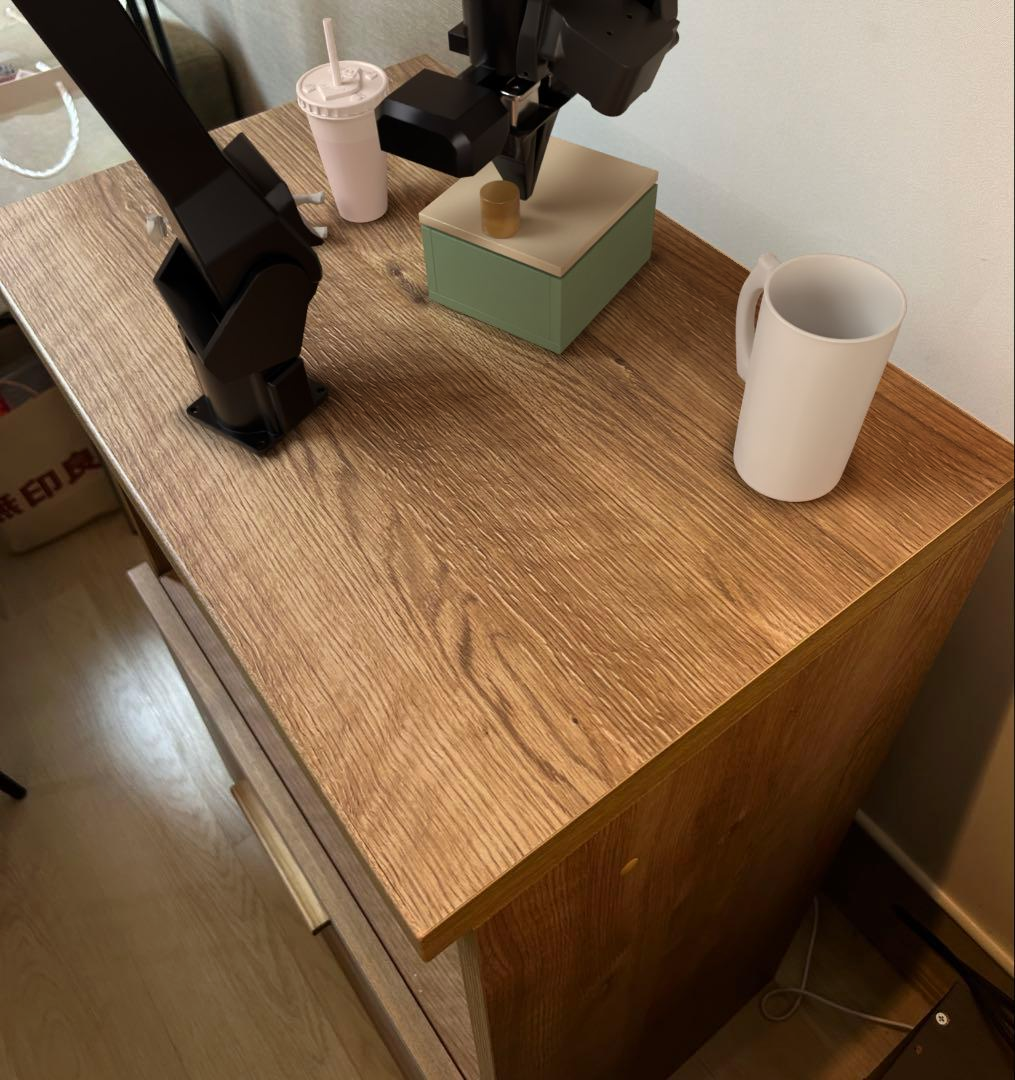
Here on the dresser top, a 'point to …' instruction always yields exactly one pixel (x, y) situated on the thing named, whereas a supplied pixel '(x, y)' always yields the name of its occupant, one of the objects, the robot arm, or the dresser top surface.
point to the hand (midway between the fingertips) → (522, 197)
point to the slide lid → (543, 206)
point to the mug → (809, 367)
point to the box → (539, 279)
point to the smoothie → (348, 130)
